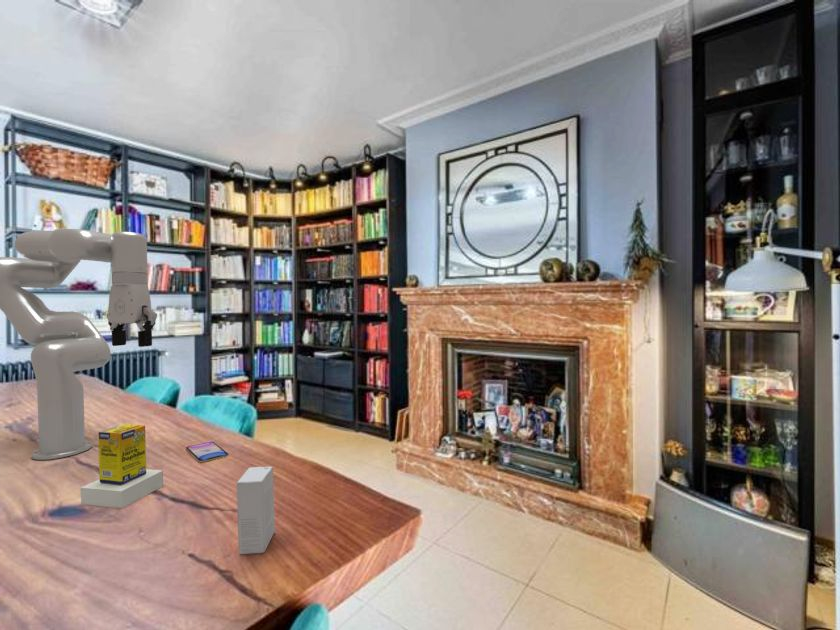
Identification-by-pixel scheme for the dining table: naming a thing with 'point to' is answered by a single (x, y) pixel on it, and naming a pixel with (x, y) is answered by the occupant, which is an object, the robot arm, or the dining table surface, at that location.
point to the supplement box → (122, 453)
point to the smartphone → (206, 452)
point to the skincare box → (255, 510)
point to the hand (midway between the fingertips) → (132, 345)
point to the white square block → (121, 490)
